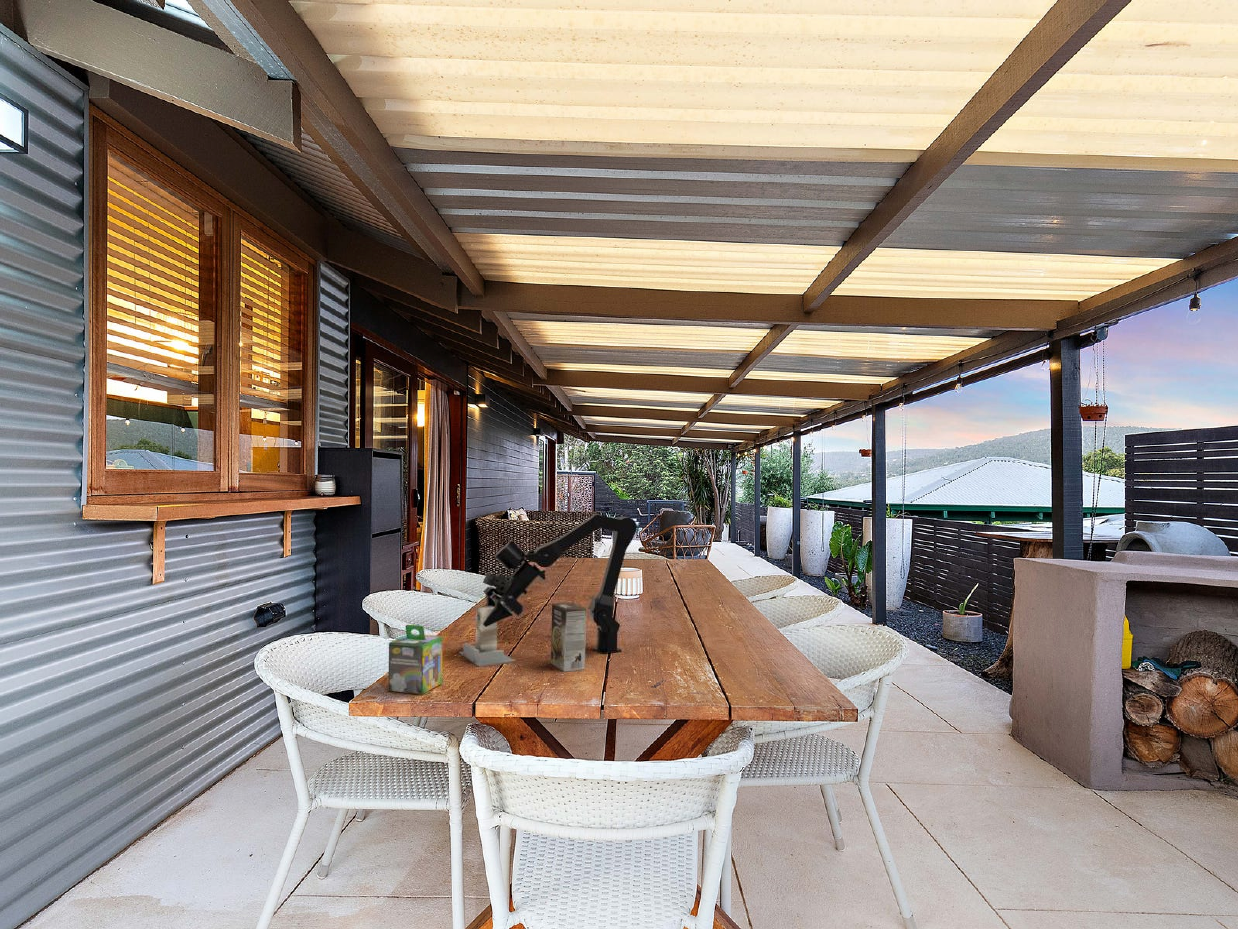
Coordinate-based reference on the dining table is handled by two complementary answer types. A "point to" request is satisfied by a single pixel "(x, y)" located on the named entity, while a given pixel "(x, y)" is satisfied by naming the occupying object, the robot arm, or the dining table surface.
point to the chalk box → (415, 662)
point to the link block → (485, 629)
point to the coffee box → (568, 636)
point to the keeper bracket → (485, 656)
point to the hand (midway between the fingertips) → (481, 624)
